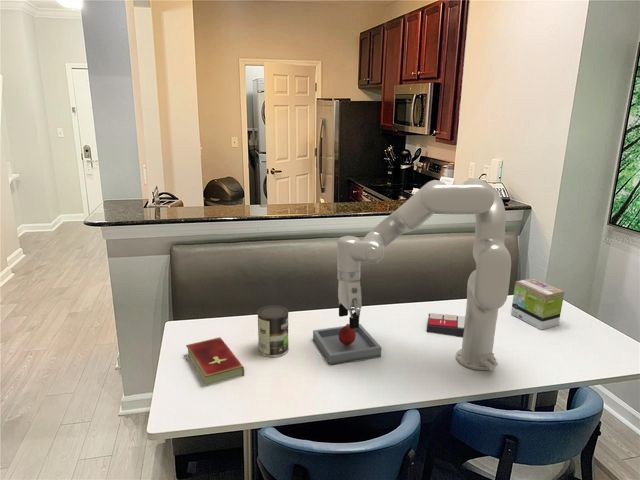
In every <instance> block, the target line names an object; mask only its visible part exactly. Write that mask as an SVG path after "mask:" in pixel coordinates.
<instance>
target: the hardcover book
mask: <svg viewBox="0 0 640 480" xmlns="http://www.w3.org/2000/svg"><path fill="white" fill-rule="evenodd" d="M185 346H186V348H187V352H188V353H187V354H188V357H189V358H190V361H192V363H193V365H194V366H195V368H196V370H197V372H198V373H199V376H200V377H201V378H202V380H203V382H204V384H205V385H206V386H211V385H215V384H218V383H222V382H224V381H228V380H232V379H233V380H234V379H236V378H240V377H245V367H244V366H243V364H242V363H241V361H239V359H238V358H237V356H236V355H235V354H234V352H233V351H232V350H231V349H230V348H229V347H228V345H227V344H226V342H225V341H224V339H222V337H221V336H219V337H214V338H210V339H207V340H202V341H199V342H194V343H188V344H186V345H185Z"/></svg>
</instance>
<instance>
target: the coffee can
mask: <svg viewBox="0 0 640 480" xmlns="http://www.w3.org/2000/svg"><path fill="white" fill-rule="evenodd" d="M256 312H257V313H256V314H257V335H258V336H257V338H258V339H257V340H258V341H257V342H258V353H259V354H260V355H261V356H263V357H267V358H279V357H283V356H285V355H286V354H287V353H288V352H289V314H290V313H289V309H288V308H287V307H284V306H282V305H267V306H263V307H261V308H259V309H258V310H257V311H256Z"/></svg>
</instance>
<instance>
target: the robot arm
mask: <svg viewBox="0 0 640 480" xmlns="http://www.w3.org/2000/svg"><path fill="white" fill-rule="evenodd" d="M505 208H506V207H505V205H504V201H503V198H502V197H501V195H500V194H499V192H498V191H497V190H496V189H495V187H493V186H492V185H491V184H490V183H488V182H486V181H485V180H483V179H481V178H475V177H473V178H469V179H467V180H465V181H464V182H463V183H462V184H446V183H445V182H443V181H441V180H439V179H438V180H437V179H433V180H430V181H428V182H426V183H425V184H424V185H423V186H421V187H420V188H419V189H418V190H417V191H416V192H415V193H414V194H413V195H412V196H410V198H408V199H407V200H406V201H405V202H404V203H403V204H402V205H401V206H399V207H398V208H397V209H396V210H394V211H393V212H392V213H390V214H389V215H388V216H386V217H385V218H384V219H383V220H381V222H379V223H378V224H376V226H375V227H373V228H372V229H371V231H369V232H368V233H367V234H366V235H365V236H364V238H363V239H362V240H361V239H360V238H359V237H357V236H354V235H353V236H352V235H344V236H341V237H339V238H338V240H337V244H336V245H337V247H336V248H337V250H336V251H337V253H336V254H337V261H336V262H337V263H336V264H337V266H336V267H337V268H336V269H337V274H336V275H337V280H338V284H337V285H338V286H337V289H338V290H337V298H338V316H339V317H340V318H341V317H348V315H349V320H348V321H349V323H348V324H349V328H350V329H354V328H359V324H360V315H361V309H362V289H361V281H360V279H361V269H362V268H361V267H362V266H361V263H367V264H377V263H380V261H382V260H383V258H384V256H385V249H386V248H387V247H388V246H390V244H392V242H394V241H395V240H396V239H397V238H399V237H400V236H402V235H404V234H406V233H412V232H414V231H416V230H417V229H418V228H419V227H421V226H422V225H423V224H424V223H426V221H428V220H429V219H430V218H431V217H432V216H434V215H435V214H437V215H475V228H474V229H475V230H474V239H473V247H472V256H473V259H474V262H475V265H476V266H475V267H476V269H475V270H473V271H472V272H471V273H470V275H469V277H468V279H467V289H466V307H465V315H464V316H465V323H464V332H463V337H462V342H461V343H462V344H461V348H460V349H458V350H457V351H456V353H455V359H456V360H457V361H458V363H459V364H460V365H462V366H464V367H466V368H469V369H472V370H475V371H476V370H477V371H488V370H489V371H493V370H494V369H495V367H497V366H498V362H497V359H496V356H495V354H494V353H493V352H494V351H493V349H494V344H495V334H496V327H497V326H496V325H497V322H498V321H497V320H498V313H499V309H500V308H502V307H503V306H504V305H505V303H506V301H507V299H508V296H509V289H510V281H511V270H512V257H511V254H510V252H509V250H508V248H507V247H506V244H505V238H506V237H505V236H506V218H507V217H506V209H505Z"/></svg>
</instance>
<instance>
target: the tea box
mask: <svg viewBox="0 0 640 480" xmlns="http://www.w3.org/2000/svg"><path fill="white" fill-rule="evenodd" d="M564 295H565V290H562V289H560V288H558V287H556V286H553V285H550V284H548V283H546V282H543V281H541V280H539V279H537V278H535V277H532V278H528V279H527V278H526V279H522V280H516V281H515V283H514V290H513V296H512V304H511V309H510V311H511V312H510V315H512V316H514V317H516V318H518V319H520V320H521V321H523V322H526V323H527V324H529V325H531V326H532V327H534V328H537V329H538V330H540V331H543V330H546V329H550V328H553V327H557V326H559V323H560V318H561V314H562V313H561V312H562V307H563V302H564Z"/></svg>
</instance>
